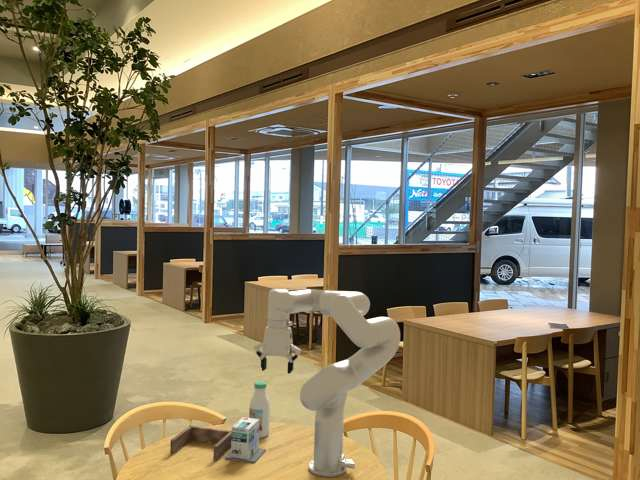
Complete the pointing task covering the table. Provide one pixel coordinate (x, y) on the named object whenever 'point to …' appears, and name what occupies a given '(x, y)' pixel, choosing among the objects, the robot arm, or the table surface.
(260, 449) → the pad
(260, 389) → the milk bottle
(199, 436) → the cubby
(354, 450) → the table surface
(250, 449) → the light bulb box
